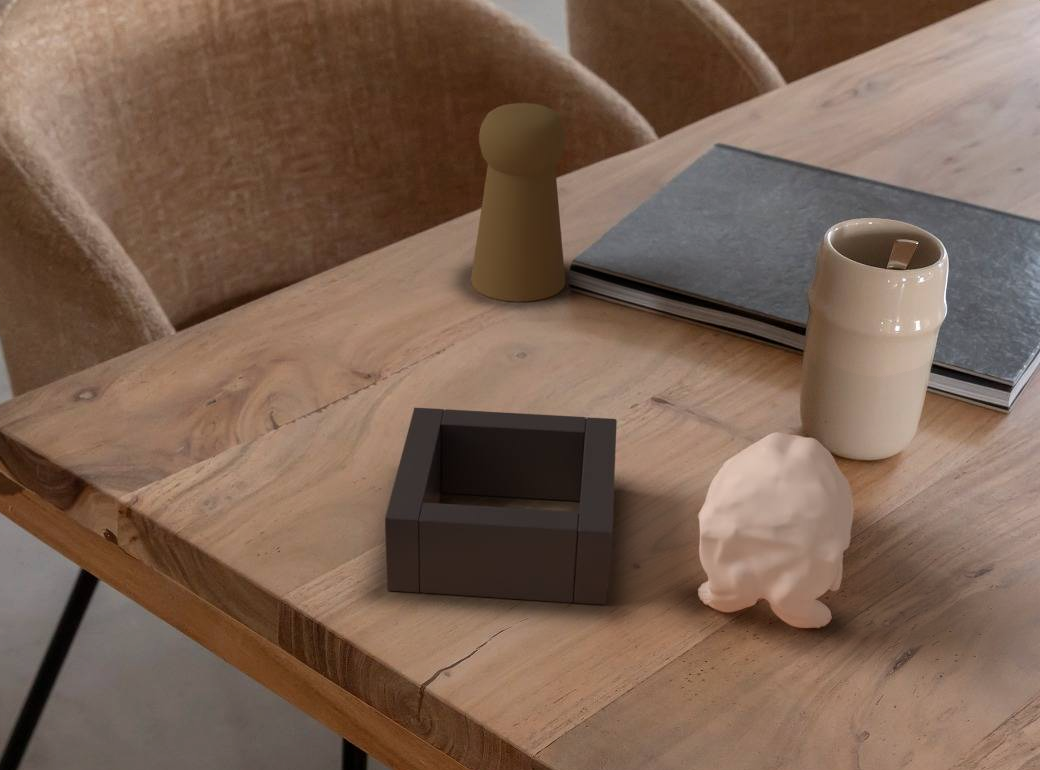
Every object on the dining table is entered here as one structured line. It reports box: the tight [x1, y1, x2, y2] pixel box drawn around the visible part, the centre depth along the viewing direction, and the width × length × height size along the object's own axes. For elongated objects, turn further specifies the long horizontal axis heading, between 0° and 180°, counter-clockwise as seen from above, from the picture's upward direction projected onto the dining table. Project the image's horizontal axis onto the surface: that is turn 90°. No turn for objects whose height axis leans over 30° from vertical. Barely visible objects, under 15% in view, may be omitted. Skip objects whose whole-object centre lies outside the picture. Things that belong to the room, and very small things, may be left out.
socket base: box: [384, 407, 618, 606], centre depth 69 cm, size 10×10×4 cm
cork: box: [470, 102, 567, 303], centre depth 90 cm, size 6×6×11 cm
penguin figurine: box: [697, 431, 855, 629], centre depth 65 cm, size 6×8×12 cm
